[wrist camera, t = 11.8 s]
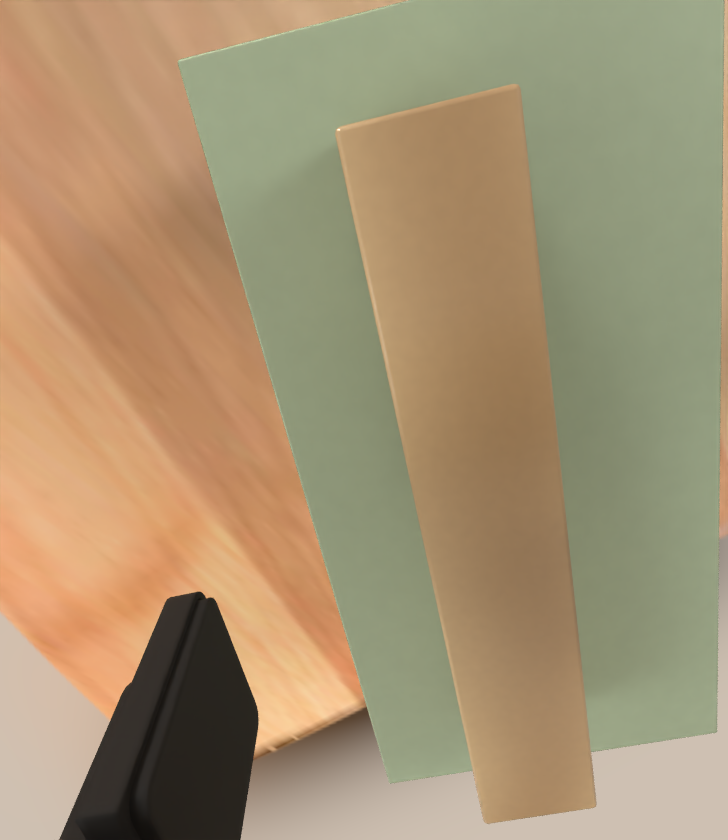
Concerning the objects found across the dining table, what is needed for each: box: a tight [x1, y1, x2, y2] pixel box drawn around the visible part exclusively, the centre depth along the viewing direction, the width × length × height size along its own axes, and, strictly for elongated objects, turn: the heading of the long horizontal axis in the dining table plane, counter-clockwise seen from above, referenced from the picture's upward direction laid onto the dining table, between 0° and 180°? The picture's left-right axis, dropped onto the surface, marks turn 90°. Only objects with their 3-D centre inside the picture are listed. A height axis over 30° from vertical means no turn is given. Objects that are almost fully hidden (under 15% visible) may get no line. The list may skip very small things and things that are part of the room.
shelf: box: [178, 0, 724, 783], centre depth 20 cm, size 10×20×12 cm, turn 12°
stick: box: [335, 84, 596, 824], centre depth 13 cm, size 3×16×3 cm, turn 12°
